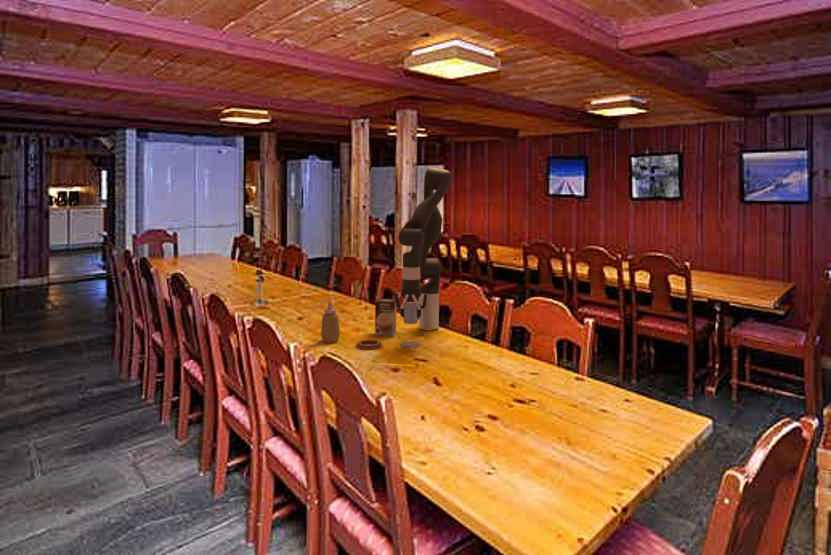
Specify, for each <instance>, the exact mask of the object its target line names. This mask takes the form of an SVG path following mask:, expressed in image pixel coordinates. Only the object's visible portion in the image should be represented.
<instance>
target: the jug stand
mask: <svg viewBox="0 0 831 555" xmlns="http://www.w3.org/2000/svg"><path fill="white" fill-rule="evenodd" d="M354 349H356V350H359V351H370V352H371V351H378V350H381V349H384V344H382V340H381V341H380V340H378V339H372V338H367V339H361V340H358V341H357V342H356V344H355V345H354Z"/></svg>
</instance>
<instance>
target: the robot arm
mask: <svg viewBox="0 0 831 555" xmlns="http://www.w3.org/2000/svg"><path fill="white" fill-rule="evenodd" d="M452 180H453V175H452V173H451V171H449V170H447V169H441V168H436V167H428V168H427V169H426V171H425V174H424V178H423V201H421V202H420V203H419V204H418V205H417V206H416V207H415V210H414V211H413V212H412V213H413V214H411V215H412V216H411V217H410V219H409V220H408V221H407V222H406V224H404V225H403V226H402V228H401V229H400V231H399V234H398V243H399V244H400V245H402V246H404V247H405V246H406V247H411V250H410V251H407V252H403V254H402V268H401V270H402V271H401V290H400V291H401V292H397V291H396V292H395V293H394V294H393V295H394V299H395V302H396V307H397V308H398V309H400V317H401V318H403V319H404V304H405V303H407V302H414V303H415V304H416V305H417V308H418V310H417V318H418V329H419V328H420V330H421V329H437V328H438V329H439V325H440V324H439V322H440V321H439V320H440V319H439V316H440V314H439V312H440V286H441V285H440V283H441V269H442V268H441V267H442V266H441V262H440V260H439V258H437V257H428V253H429V251H430V250H431V248H432V247H433V245H434V244H435V243H436V242H437V240H438V239H439V237H441V234H442V229H443V228H442V226H443V216H442V214H441V212H440V210H439V207H438V205H439V204H440V202H442V200H443V198H444V197H445V195H446V194H447V193H448V191H449V189H450V186H451V184H452ZM427 257H428V258H427ZM421 279H430V280H429V281H427V282H426V283H424V284H421ZM400 297H402V298H403V300H402V303H400ZM438 329H437V330H438Z"/></svg>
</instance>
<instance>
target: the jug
mask: <svg viewBox="0 0 831 555" xmlns="http://www.w3.org/2000/svg"><path fill="white" fill-rule="evenodd" d="M417 310H418V308H417V305H416V304H415V302H406V303H405V304H404V318H403V323H404V324H408V325H415V324H419V318H417Z"/></svg>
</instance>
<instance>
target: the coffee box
mask: <svg viewBox="0 0 831 555" xmlns="http://www.w3.org/2000/svg"><path fill="white" fill-rule="evenodd" d="M374 304H375V306H374V308H375V310H374V314H375V315H374V317H375V318H374V335H375V336H382V337H383V336H384V337H385V336H386V337H388V336H389V337H395V336H396V335H397V310H398V307H396V302H395V298H392V299H391V298H377V299H376V300H375V302H374Z"/></svg>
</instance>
